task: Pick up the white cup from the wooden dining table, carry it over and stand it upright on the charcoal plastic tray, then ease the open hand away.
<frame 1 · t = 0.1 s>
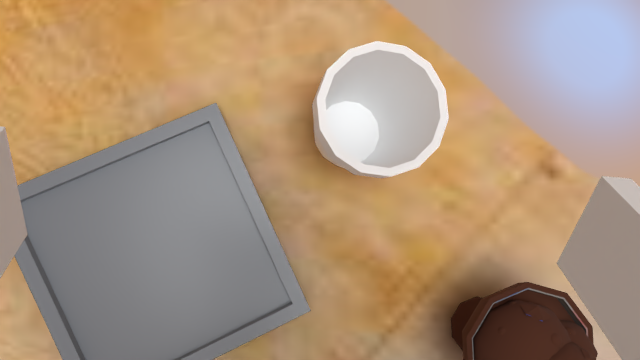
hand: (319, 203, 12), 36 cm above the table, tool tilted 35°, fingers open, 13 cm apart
tray: (159, 254, 46), on the table
ice cream bowl: (476, 325, 50), on the table
foam cup: (346, 133, 49), on the table
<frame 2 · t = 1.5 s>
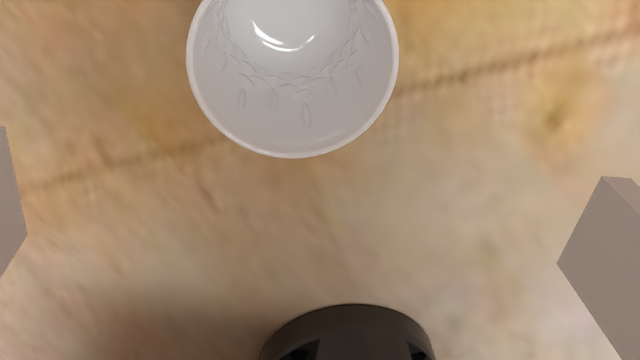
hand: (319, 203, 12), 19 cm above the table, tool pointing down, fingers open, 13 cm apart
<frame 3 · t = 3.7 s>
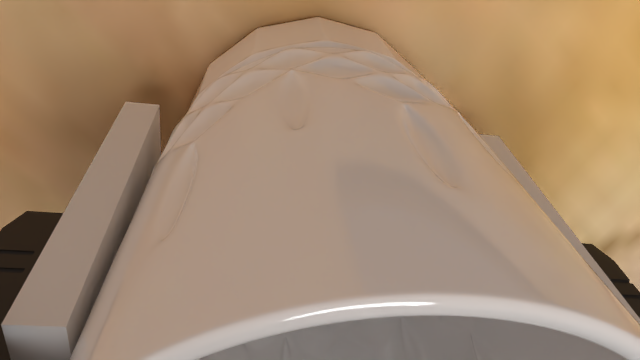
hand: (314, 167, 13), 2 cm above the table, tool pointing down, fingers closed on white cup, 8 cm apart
white cup: (309, 132, 15), on the table, touching gripper
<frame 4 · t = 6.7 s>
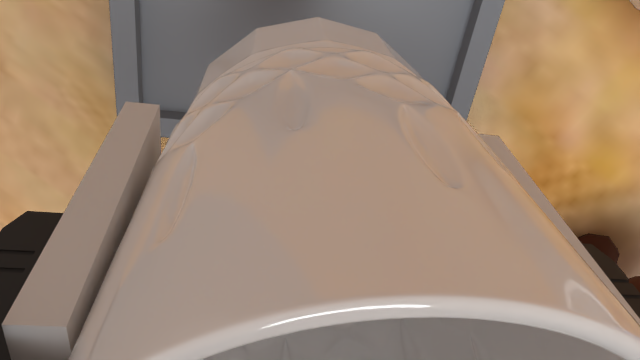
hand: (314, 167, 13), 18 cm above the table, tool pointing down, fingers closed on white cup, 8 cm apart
white cup: (309, 133, 15), point 16 cm above the table, touching gripper
ice cream bowl: (580, 259, 41), on the table
when the fingers open (3 cm above the table, at t = 9.8 s): white cup stays where it is, resting on tray.
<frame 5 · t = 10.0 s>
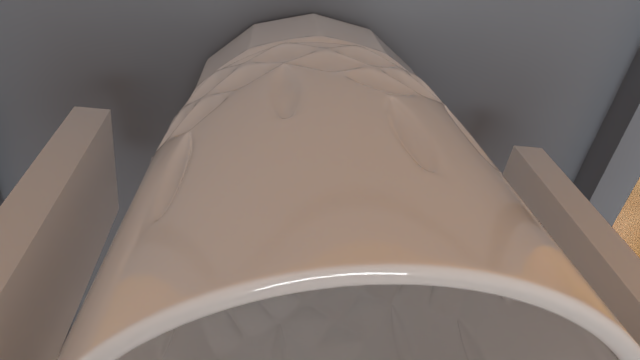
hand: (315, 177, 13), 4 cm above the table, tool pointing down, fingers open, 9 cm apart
tray: (307, 112, 16), on the table
white cup: (305, 126, 15), point 1 cm above the table, touching tray
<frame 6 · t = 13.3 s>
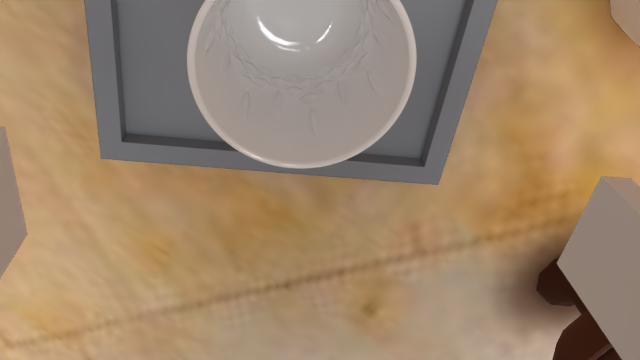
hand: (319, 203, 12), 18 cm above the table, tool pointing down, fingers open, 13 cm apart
ice cream bowl: (570, 276, 41), on the table
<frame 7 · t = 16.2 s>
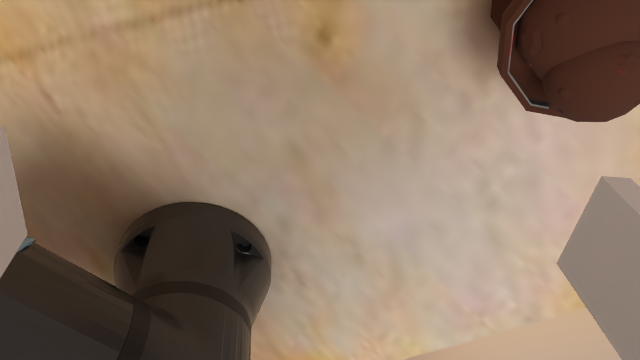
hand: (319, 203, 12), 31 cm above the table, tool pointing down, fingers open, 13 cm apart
ice cream bowl: (524, 1, 41), on the table
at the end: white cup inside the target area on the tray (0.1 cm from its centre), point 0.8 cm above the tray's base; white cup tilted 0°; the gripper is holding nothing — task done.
